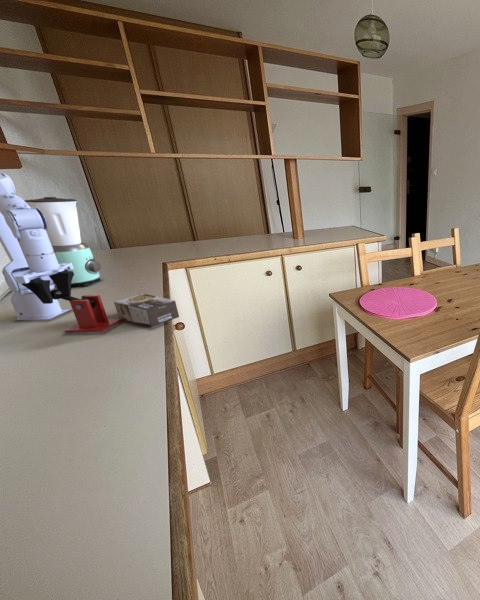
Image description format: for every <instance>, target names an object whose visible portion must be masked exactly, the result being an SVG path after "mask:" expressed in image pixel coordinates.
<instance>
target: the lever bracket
mask: <svg viewBox="0 0 480 600" xmlns="http://www.w3.org/2000/svg"><path fill="white" fill-rule="evenodd" d="M85 297H86V298H89V299H93V300H96V301H95V307H94V308H91V305H90V302H89V300H71V301H68V302H69V304H70V307H71V309H72V312H73V314H74V317H75V320H76V323H77V324H75V325H73V326H71V327H69V328H67V329H65V330H64V331H65V332H64V333H66V334H69V333H104V332H105V331H107V330H108V329H110V328H112V327H113V326H115V325H117V324H119V323H120V322H123V319H120V318H108V315H107V312H106V309H105V307H104V306H105V305H104V304H103V300H102V297H101V295H100V294H83V295H81V299H82V298H85Z"/></svg>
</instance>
